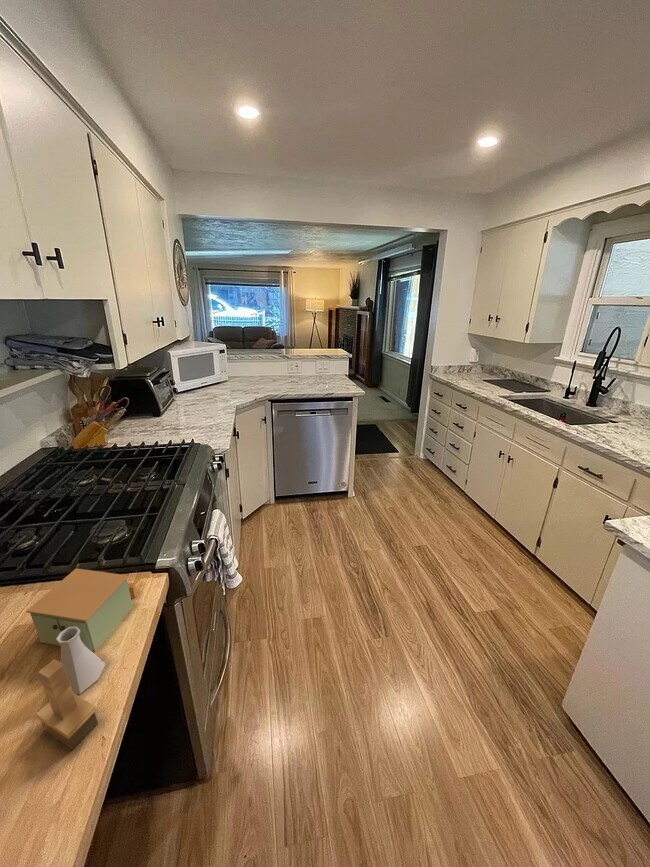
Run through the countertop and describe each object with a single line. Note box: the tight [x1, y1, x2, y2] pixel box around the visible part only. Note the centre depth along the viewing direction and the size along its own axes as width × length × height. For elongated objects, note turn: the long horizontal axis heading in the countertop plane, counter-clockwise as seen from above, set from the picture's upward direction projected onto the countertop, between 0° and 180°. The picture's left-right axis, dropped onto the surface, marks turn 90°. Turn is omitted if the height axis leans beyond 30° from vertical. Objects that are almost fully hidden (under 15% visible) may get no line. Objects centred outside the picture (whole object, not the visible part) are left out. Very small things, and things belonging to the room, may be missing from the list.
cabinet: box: [25, 567, 134, 653], centre depth 72 cm, size 13×12×8 cm
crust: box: [128, 582, 137, 599], centre depth 80 cm, size 3×3×2 cm
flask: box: [56, 627, 106, 695], centre depth 62 cm, size 7×7×10 cm
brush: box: [35, 659, 99, 751], centre depth 54 cm, size 4×7×13 cm, turn 67°
